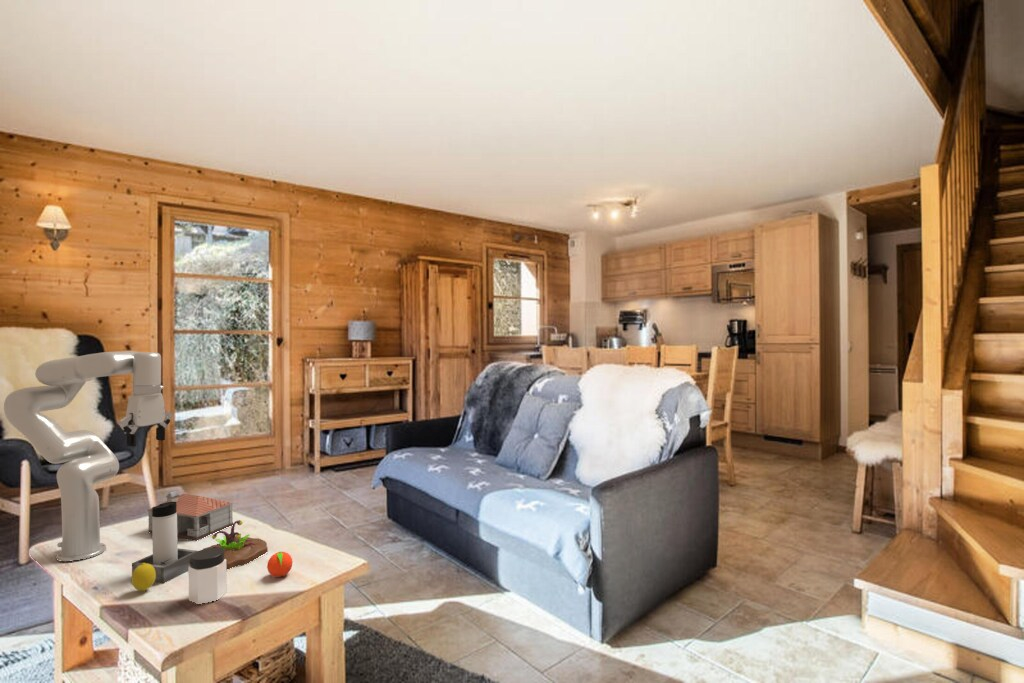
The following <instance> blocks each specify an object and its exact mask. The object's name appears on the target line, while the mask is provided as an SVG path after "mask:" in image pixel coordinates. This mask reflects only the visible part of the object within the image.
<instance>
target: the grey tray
mask: <svg viewBox="0 0 1024 683" xmlns="http://www.w3.org/2000/svg"><path fill="white" fill-rule="evenodd" d="M197 551H198V550H193V549H185V548H179V547H178V560H176V561H174V562H171V563H169V564H167V565H165V566H160V565H153V553H152V554H150V555H148V556H146V557H142V558H141V559H139V560H137V561H134V562H132V563H131V576H132V575H133V572H134V570H135V569H136V568H137V567H138V566H139V565H141V564H142V563H147V564H151V565H152V566H153V567H154V568H155V572H156V578H155V581H154V583H158V582H160V583H159V584H165V582H166V583H167V581H168V582H169V581H171V580H173V579H175V578H177V577H179V576H180V575H183V574H185V573H187V572H188V567H189V566H190V556H191V555H192V554H193V553H195V552H197Z"/></svg>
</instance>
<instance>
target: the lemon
mask: <svg viewBox="0 0 1024 683" xmlns="http://www.w3.org/2000/svg"><path fill="white" fill-rule="evenodd" d="M155 578H156V572H155V568H154V567H153V566H152V565H151V564H147V563H142V564H141V565H139V566H138V567H137V568H136V569H135V570H134V572H133V575H132V574H131V585H132V587H133V588H134V589H135V590H137V591H141V592H145V591H147V590H148V589H149V588H150V587H152V586H153V585H154V583H155V582H154V581H155Z"/></svg>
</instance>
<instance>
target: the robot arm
mask: <svg viewBox="0 0 1024 683" xmlns="http://www.w3.org/2000/svg"><path fill="white" fill-rule="evenodd" d="M34 373H35V374H34V375H35V379H36V380H37V381H38V382H39V383H41V384H43V385H42V386H41V385H38V386H30V387H29V386H28V387H23V388H18V389H16V390H14V391H12V392H10V393H9V394H8V395H7V396H6V397H5V399H4V403H3V410H4V415H5V417H6V419H7V421H8V422H9V424H11V425H12V427H14V429H16V430H17V431H18V432H19V433H21V434H22V435H23V437H24V436H25V438H26V439H27V441H29V443H31V445H32V446H33V447H34V448H35V449H36V451H37V452H38V453H39V454H40V455H41V456H42V457H43V458H44V459H45V460H46V461H47V462H49V463H51V464H53V465H55V464H62V463H63V464H62V465H61V466H60V467H59V468H58V470H57V472H56V482H57V485H58V489H59V493H60V494H59V495H60V501H61V502H60V504H61V505H60V506H61V509H60V510H61V536H62V537H61V538H62V539H61V540H62V541H61V542H58V543H57V546H56V547H58V548H61V551H60V552H59V553H57V554H56V557H55V559H56V558H57V559H58V560H61V561H70V560H79V561H81V560H80V559H83V560H86V558H87V559H90V557H91V558H94V557H96V556H98V555H100V554H102V553H104V552H105V551H106V549H107V545H106V543H102V542H101V526H100V524H101V522H100V499H99V498H100V496H99V493H98V492H97V490H96V489H95V488H94V487H93V485H95V484H98V483H100V482H104V481H106V480H109V479H111V478H113V477H115V476H116V475H117V474H118V473H119V470H120V462H119V459H118V458H117V456H116V455H115V454H114V452H113V451H112V450H111V449H110V448H109V447H108V446H107V444H106V443H105V442H104V441H103V440H102V439H101V438H100V437H99V436H98V435H97V434H96V433H94V432H93V431H90V430H86V429H80V430H74V431H66V430H64V429H63V428H62V427H61V426H60V425H59V423H57V422H56V420H54V418H51V417H49V416H47V415H44V414H42V413H41V412H47V411H54V410H59V409H63V408H65V407H67V406H69V405H70V404H71V403H72V402H73V401H74V399H75V398H76V396H77V395H78V394H79V392H80V391H81V390H82V388H83V387H84V386H85V385H86V383H87V382H90V381H92V380H94V379H95V378H100V377H101V378H102V377H111V376H119V375H121V376H122V375H132V395H129V397H128V400H127V406H126V411H125V412H126V414H125V416H124V417H123V418H122V419H119V420H118V422H117V424H118V425H119V428H120V430H121V431H123V432H124V434H126V446H127V447H133V448H134V447H136V446H137V433H136V432H137V430H138V429H139V428H141V427H149V426H153V425H155V426H157V427H156V429H155V439H156V441H162V442H163V441H165V440H166V429H167V428H168V425H169V424H170V423H171V420H172V418H173V415H174V414H173V413H171V412H169V411H167V410H166V408H165V400H164V399H165V398H164V395H163V393H162V390H164V385H162V356H161V354H160V353H159V352H155V351H154V352H153V351H152V352H151V351H150V352H148V351H137V350H124V351H122V350H120V351H119V350H117V351H116V350H115V351H105V352H98V353H97V352H96V353H90V354H89V353H88V354H85V355H79V356H72V357H66V358H58V359H53V360H49V361H45V362H43V363H42V364H40V365H39V366H37V368H36V369H35V372H34ZM93 556H94V557H93Z"/></svg>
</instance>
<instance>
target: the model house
mask: <svg viewBox="0 0 1024 683" xmlns="http://www.w3.org/2000/svg"><path fill="white" fill-rule="evenodd" d="M165 497H166V499H167V500H165V501H164V502H161V504H163V503H167V502H176V504H177V509H176V510H177V539H181V538H182V540H187V539H188V541H193V540H195V541H194V542H198V541H200V540H202V538H203V539H204V537H205V538H207V537H209V536H208V535H210V534H212V535H214V534H213V533H215V532H217V531H220V530H222V529H224V528H226V527H229V526H231V527H232V525H233V524H234V520H233V517H234V516H233V505H234V503H233V502H229V501H225V500H222V499H220V500H219V499H216V498H215V499H214V498H212V497H211V498H210V497H206V496H201V495H194V494H187V493H182V494H179V493H178V492H177V491H176V490H174V491H171V492H169V493H168V494H167V495H166V496H165ZM158 505H159V504H158ZM158 505H155V507H156V506H158ZM147 512H148V514H147V516H148V533H149V532H150V533H149V534H151V533H152V507H151V508H149V509H148V510H147ZM229 528H230V527H229ZM226 529H227V528H226ZM224 530H225V529H224ZM222 531H223V530H222ZM206 536H207V537H206ZM210 536H211V535H210ZM199 539H200V540H199ZM197 540H198V541H197Z"/></svg>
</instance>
